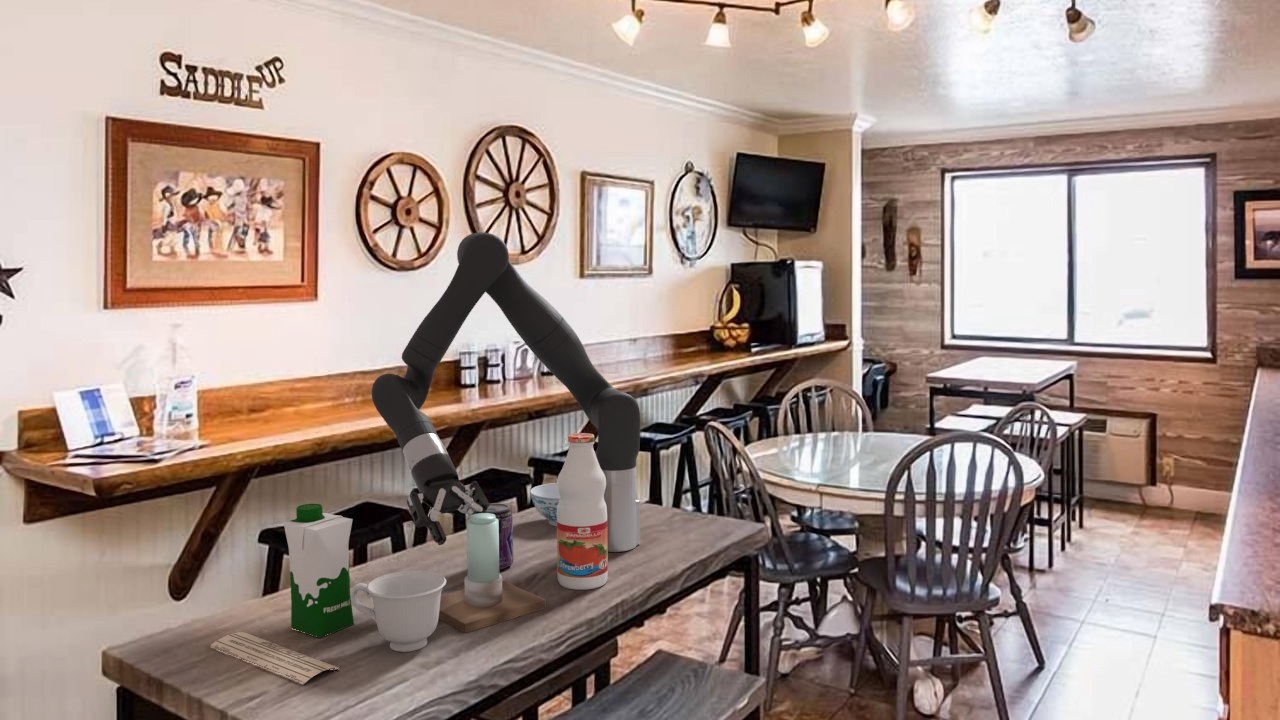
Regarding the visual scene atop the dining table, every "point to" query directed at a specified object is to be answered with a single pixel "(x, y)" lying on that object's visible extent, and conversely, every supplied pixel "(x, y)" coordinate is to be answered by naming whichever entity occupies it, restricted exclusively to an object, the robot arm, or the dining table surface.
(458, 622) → the stud base
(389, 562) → the dining table surface
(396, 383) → the robot arm
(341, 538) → the milk carton
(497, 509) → the beverage can
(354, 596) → the teacup
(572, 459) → the strawberry yogurt bottle
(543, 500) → the chinaware
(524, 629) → the dining table surface
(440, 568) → the dining table surface
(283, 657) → the newspaper
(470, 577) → the pale green cylinder
